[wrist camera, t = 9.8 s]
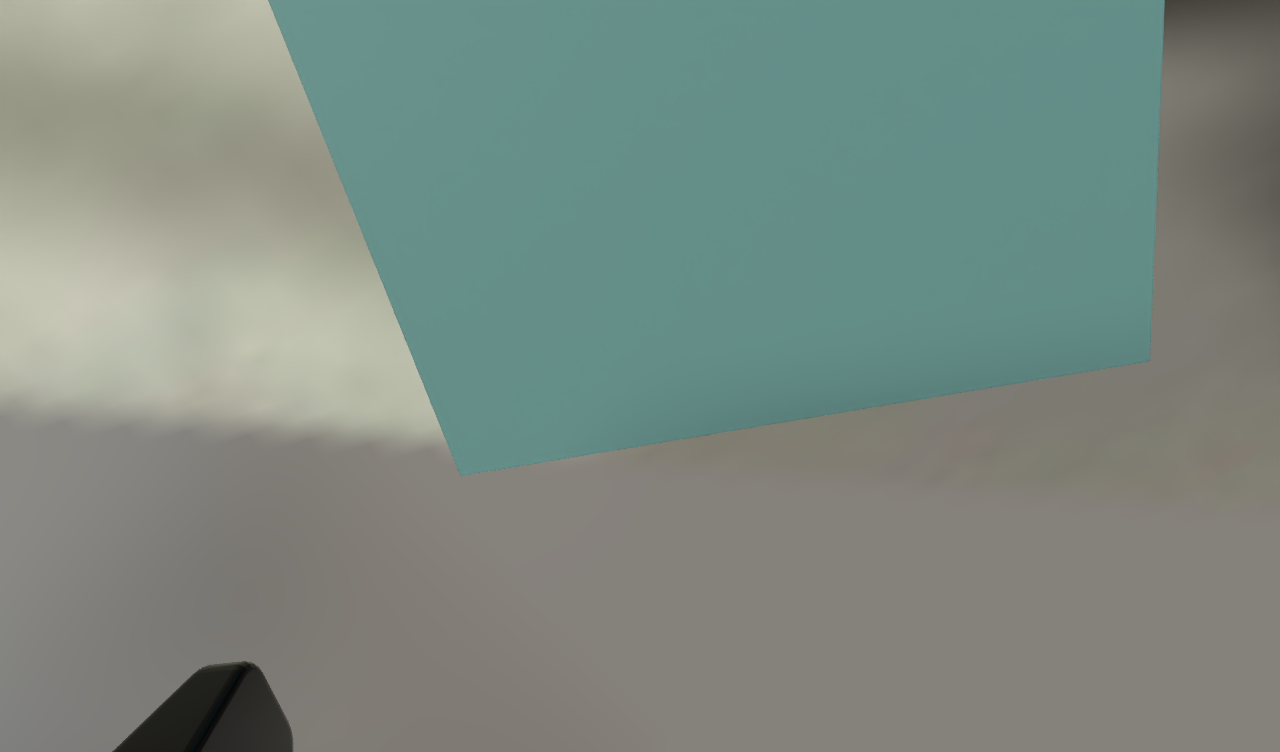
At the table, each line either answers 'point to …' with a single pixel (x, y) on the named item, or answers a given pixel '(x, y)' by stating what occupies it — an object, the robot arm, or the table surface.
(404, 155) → the teal cube
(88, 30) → the table surface
